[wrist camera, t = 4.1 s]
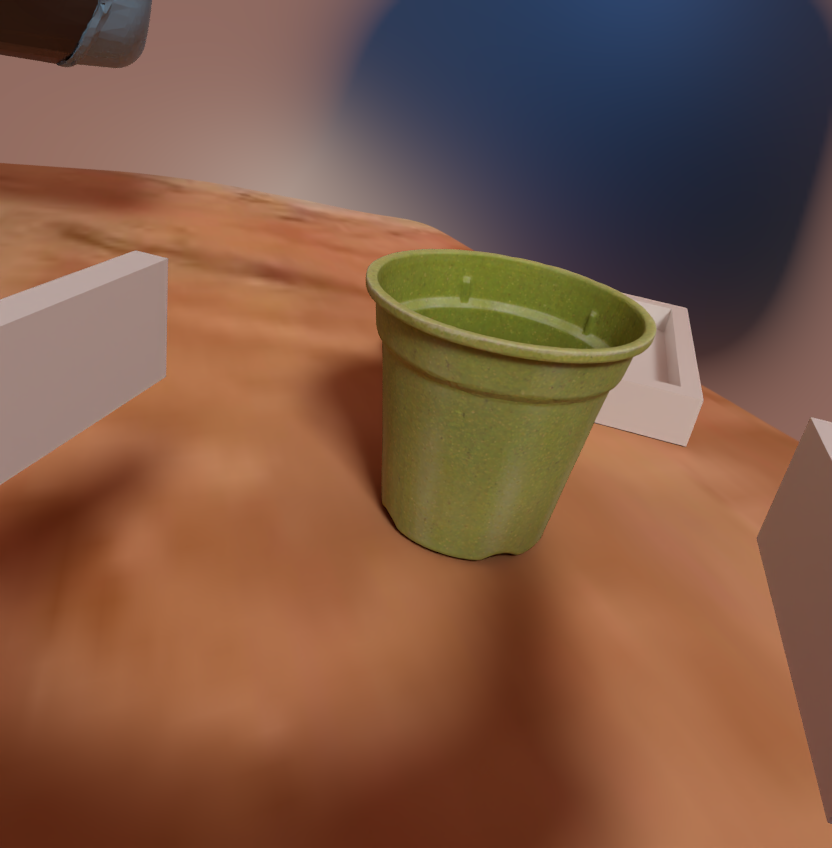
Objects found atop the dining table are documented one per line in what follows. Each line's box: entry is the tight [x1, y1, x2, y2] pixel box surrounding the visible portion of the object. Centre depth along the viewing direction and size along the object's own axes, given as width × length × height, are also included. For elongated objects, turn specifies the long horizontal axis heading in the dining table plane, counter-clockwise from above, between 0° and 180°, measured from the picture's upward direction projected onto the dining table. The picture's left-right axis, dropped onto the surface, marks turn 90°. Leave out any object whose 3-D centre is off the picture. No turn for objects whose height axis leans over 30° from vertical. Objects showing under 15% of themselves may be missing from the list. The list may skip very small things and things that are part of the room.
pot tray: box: [595, 293, 704, 447], centre depth 44 cm, size 15×15×2 cm
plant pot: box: [366, 249, 657, 560], centre depth 27 cm, size 9×9×9 cm
